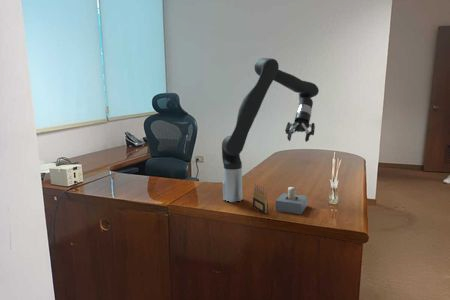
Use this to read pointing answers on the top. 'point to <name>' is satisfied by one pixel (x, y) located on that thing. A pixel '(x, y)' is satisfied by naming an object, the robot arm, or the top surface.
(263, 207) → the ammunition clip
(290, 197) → the peg
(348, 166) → the top surface
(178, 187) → the top surface
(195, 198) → the top surface
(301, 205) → the socket block
